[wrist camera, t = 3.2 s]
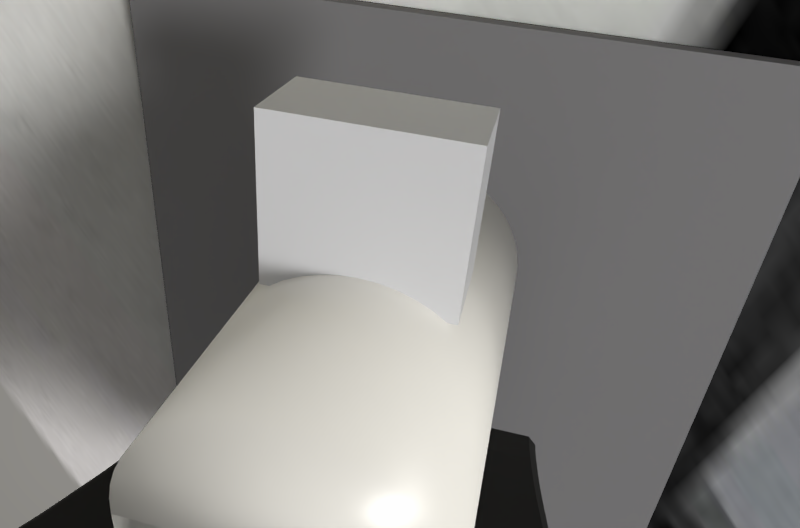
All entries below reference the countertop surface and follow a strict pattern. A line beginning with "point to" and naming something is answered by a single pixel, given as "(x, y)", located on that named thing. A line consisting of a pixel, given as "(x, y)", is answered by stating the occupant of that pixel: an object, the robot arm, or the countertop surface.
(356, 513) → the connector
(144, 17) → the mat
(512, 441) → the robot arm
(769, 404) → the countertop surface
